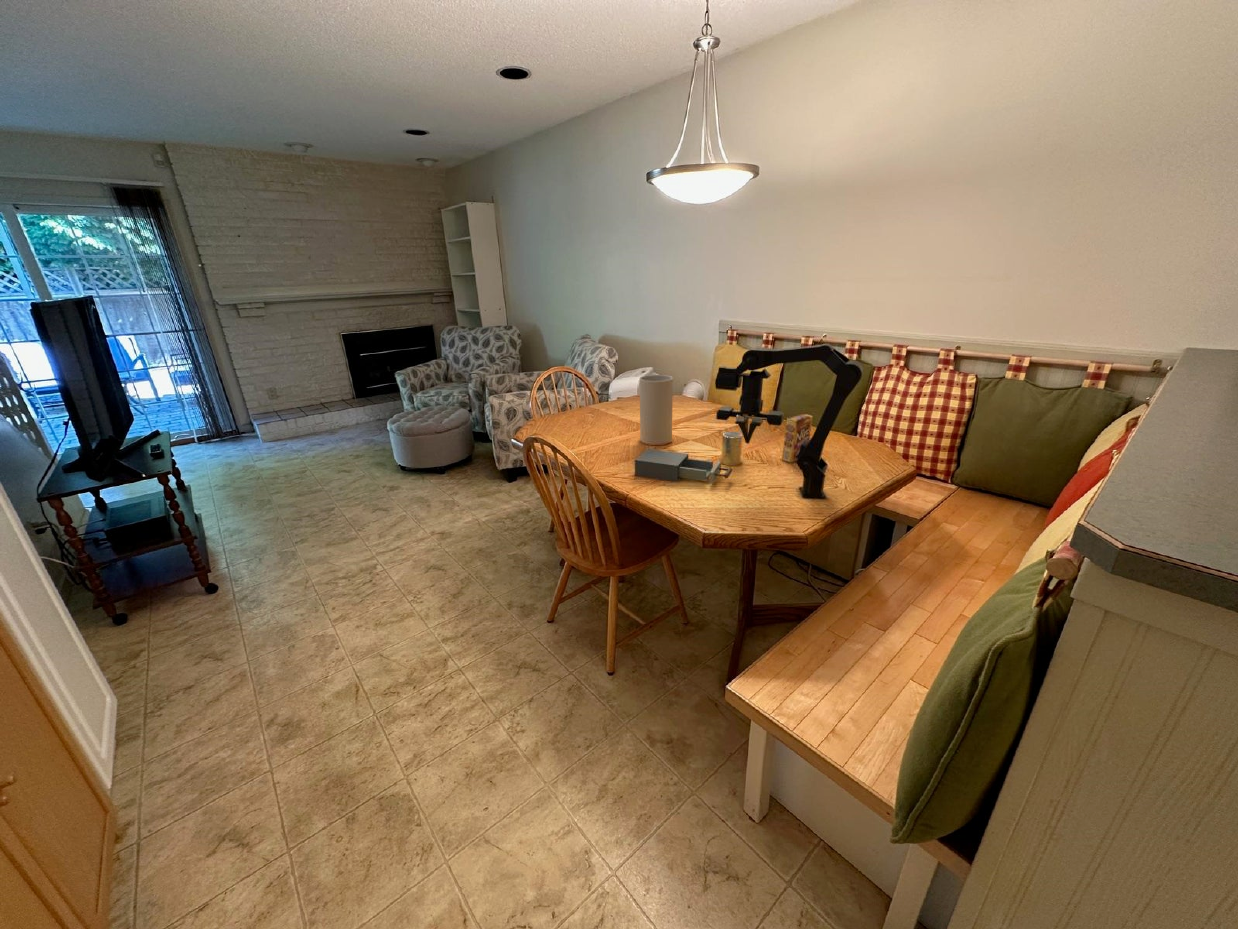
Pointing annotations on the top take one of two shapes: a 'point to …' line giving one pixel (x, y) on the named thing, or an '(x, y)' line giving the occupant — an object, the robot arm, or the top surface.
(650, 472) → the cabinet
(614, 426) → the top surface
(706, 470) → the drawer
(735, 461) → the metal can
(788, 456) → the candy box
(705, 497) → the top surface
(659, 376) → the cylinder vase
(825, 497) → the robot arm
